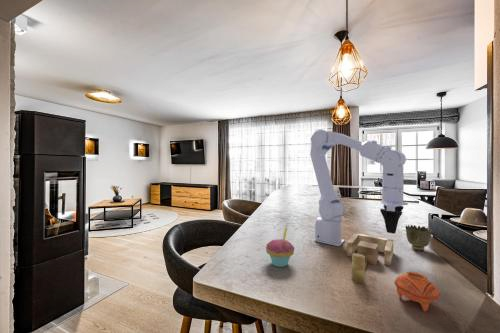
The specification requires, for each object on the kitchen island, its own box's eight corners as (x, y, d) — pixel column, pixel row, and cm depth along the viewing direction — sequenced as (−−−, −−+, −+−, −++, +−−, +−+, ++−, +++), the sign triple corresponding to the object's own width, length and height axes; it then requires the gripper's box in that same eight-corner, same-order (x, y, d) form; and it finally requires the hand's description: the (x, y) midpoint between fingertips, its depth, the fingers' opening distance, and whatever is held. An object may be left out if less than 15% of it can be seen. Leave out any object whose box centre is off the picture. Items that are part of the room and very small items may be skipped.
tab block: (346, 279, 56) (346, 255, 56) (360, 255, 72) (360, 236, 72) (368, 286, 53) (368, 260, 53) (377, 259, 69) (377, 239, 69)
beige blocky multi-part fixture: (346, 255, 72) (347, 241, 72) (354, 244, 81) (354, 232, 81) (390, 266, 64) (390, 251, 64) (393, 253, 74) (393, 239, 74)
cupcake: (295, 259, 68) (296, 222, 68) (291, 272, 60) (292, 229, 60) (269, 255, 71) (269, 219, 71) (262, 267, 63) (262, 226, 63)
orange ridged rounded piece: (395, 306, 46) (394, 272, 47) (394, 296, 52) (394, 266, 53) (445, 320, 41) (442, 282, 43) (438, 308, 47) (436, 275, 49)
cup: (436, 255, 73) (436, 231, 73) (411, 253, 74) (412, 229, 74) (423, 246, 80) (423, 225, 80) (401, 245, 81) (401, 224, 81)
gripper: (407, 190, 61) (407, 238, 61) (408, 186, 72) (407, 226, 73) (378, 188, 65) (378, 233, 65) (383, 185, 77) (383, 223, 77)
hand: (391, 229), depth 69 cm, fingers open, 7 cm apart
